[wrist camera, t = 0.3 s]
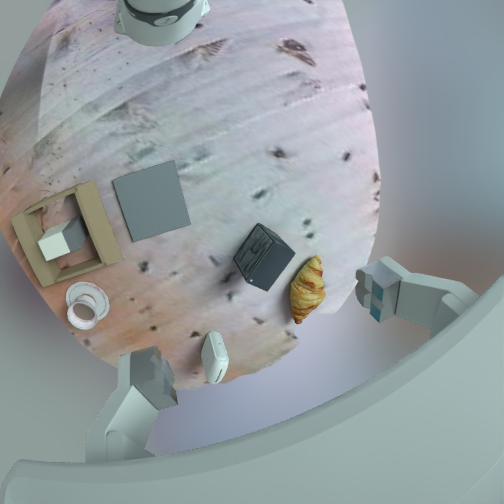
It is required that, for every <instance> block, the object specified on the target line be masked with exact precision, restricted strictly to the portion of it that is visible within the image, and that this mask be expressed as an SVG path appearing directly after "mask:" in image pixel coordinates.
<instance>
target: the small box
mask: <svg viewBox="0 0 504 504" xmlns="http://www.w3.org/2000/svg"><path fill="white" fill-rule="evenodd" d="M295 254H296V253H295V252H294V251H293V250H292V249H291V248H290V247H289V246H288V245H287V244H286V243H285V242H284V241H283V240H282V239H281V238H280V237H279V236H278V235H277V234H276V233H274V232H273V231H271V230H270V229H268V228H266V227H265V226H263V225H262V224H260V223H257V225H256V226H255V228H254V229H253V231H252V232H251V233H250V235H249V236H248V238H247V239H246V241H245V242H244V244H243V245H242V246H241V248H240V249H239V251H238V252H237V254H236V255H235V257H234V258H233V259H234V261H235V263H236V264H237V266H238V268H239V270H240V271H241V273H242V275H243V277H244V278H245V281H246V283H249V284H251V285H253V286H256V287H258V288H260V289H262V290H265V291H268V290H269V289H270V288H271V286H272V285H273V284H274V282H275V281H276V280H277V278H278V277H279V276H280V274H281V273H282V271H283V270H284V269H285V267H286V266H287V265H288V263H289V262H290V261H291V259H292V258H293V257H294V255H295Z"/></svg>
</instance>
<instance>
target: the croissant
mask: <svg viewBox="0 0 504 504" xmlns="http://www.w3.org/2000/svg"><path fill="white" fill-rule="evenodd" d="M320 264H321V259H320V257H319V256H317V255H316V256H314V257H312V259H310V261H308V262H307V263H306V264H305V265H304V266H303V268H302V269H301V270H300V271H299V272H298V274H297V276H296V277H295V279H294V281H292V282H291V292H290V301H291V309H292V317H293V319H294V321H295V323H296V324H300V323H301V322H302V320H303V319H305V318H306V317H307V315H308V314H309V313H310V312H311V311H312V310H313V309H316V308H317V306H318V305H319V304H320V303H321V302H322V301H323V300H324V298H325V295H326V292H325V291H324V282H323V279H322V272H323V270H322V268H321V265H320Z"/></svg>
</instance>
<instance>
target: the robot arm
mask: <svg viewBox="0 0 504 504" xmlns="http://www.w3.org/2000/svg"><path fill="white" fill-rule="evenodd" d="M209 11H210V6H209V4H208V2H207V0H118V4H117V10H116V16H115V23H114V31H115V32H116V33H118V34H123V35H127V36H129V37H130V38H132V39H133V40H134V41H136V42H138V43H140V44H142V45H146V46H165V45H169V44H172V43H175V42H177V41H179V40H181V39H183V38H184V37H185V36H187V35H188V34H189V33H190V32H191V31H192V30H193V28H194V27H195V25H196V24H197V22H198V21H199V19H200V18H202V17H203V16H205V15H206V14H207V13H208V12H209ZM119 22H121V24H119ZM356 279H357V280H358V283H357V285H356V287H355V289H356V296H357V299H358V301H359V302H360V304H361V305H362V306H363V307H365V308H369V309H370V314H371V315H372V316H373V317H374V318H375V319H376V320H377V321H378V322H379V323H381V322H382V321H384V320H386V319H388V318H390V317H392V316H394V315H395V316H397V317H400V318H402V319H405V320H408V321H410V322H413V323H416V324H418V325H421V326H423V327H426V328H428V329H431V333H430V336H429V340H428V341H427V342H426V343H425V344H423V345H422V346H420V347H419V348H417V349H416V350H415V351H414V352H412V353H410V354H409V355H407V356H406V357H405V358H403V359H401V360H400V361H398V362H397V363H395V364H394V365H392V366H391V367H389V368H387V369H386V370H384V371H383V372H381V373H379V374H378V375H376V376H374V377H373V378H371V379H369V380H367V381H366V382H364V383H362V384H361V385H359V386H357V387H355V388H353V389H351V390H350V391H348V392H346V393H344V394H342V395H340V396H338V397H336V398H334V399H332V400H330V401H328V402H326V403H324V404H322V405H319V406H317V407H315V408H313V409H311V410H309V411H306V412H304V413H302V414H300V415H297V416H295V417H292V418H290V419H288V420H285V421H282V422H280V423H277V424H275V425H272V426H269V427H267V428H264V429H261V430H258V431H255V432H252V433H250V434H246V435H243V436H240V437H237V438H233V439H230V440H227V441H223V442H220V443H216V444H213V445H208V446H204V447H201V448H196V449H192V450H187V451H182V452H177V453H172V454H167V455H161V456H155V455H154V454H152V453H151V452H149V451H147V450H146V449H144V448H145V445H146V443H147V440H148V437H149V435H150V432H151V430H152V427H153V424H154V422H155V419H156V417H157V414H158V410H161V409H165V408H169V407H172V406H176V405H178V401H177V395H176V390H175V389H174V388H173V387H172V385H173V383H174V382H175V381H174V375H173V372H172V369H171V367H170V365H169V363H168V361H167V360H166V359H164V358H162V357H161V351H160V350H159V349H158V347H157V346H152V347H149V348H145V349H141V350H138V351H134V352H131V353H127V354H123V355H120V357H119V363H118V380H117V389H115V390H114V391H113V392H112V394H111V395H110V397H109V398H108V400H107V401H106V403H105V405H104V406H103V408H102V409H101V411H100V412H99V414H98V416H97V417H96V419H95V421H94V422H93V424H92V425H91V427H90V429H89V430H88V432H87V433H86V463H65V462H44V461H33V460H25V459H22V460H18V461H17V462H16V463H15V464H14V466H13V467H12V468H11V469H10V471H9V473H8V474H7V476H6V477H5V479H4V480H3V482H2V485H1V489H0V504H504V273H503V275H502V276H501V277H500V278H499V279H498V280H497V281H496V282H495V283H494V284H493V285H492V286H491V287H490V288H489V289H488V290H487V291H486V292H485V293H484V294H483V295H482V296H481V297H480V296H478V295H477V294H476V293H475V292H473V291H472V290H471V289H470V288H468V287H467V286H465V285H464V284H463V283H461V282H457V281H453V280H448V279H443V278H438V277H433V276H428V275H423V274H418V273H413V274H411V273H410V272H409V271H407V270H406V269H404V268H403V267H402V266H401V265H399V264H398V263H396V262H395V261H394V260H392V259H391V258H389V257H387V256H386V257H383V258H381V259H379V260H377V261H375V262H373V263H371V264H368V265H366V266H364V267H362V268H360V269H358V270H357V271H356Z"/></svg>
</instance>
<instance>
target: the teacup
mask: <svg viewBox="0 0 504 504" xmlns="http://www.w3.org/2000/svg"><path fill="white" fill-rule="evenodd" d="M82 294H89V295H91V296H93V297H94V299H95V300H96V303H95V301H94V300H93V299H92V298H91V297H89V296H87V295H82ZM66 302H67V306H68V307H69V308H68V311H67V316H68V319H69V321H70V322H71V323H72V324H73V325H74V326H75V327H77V328H79V329H90V328H92V327H94V326H95V325H96V323H97V321H98V320H100V319H102V318H104V317H105V316H106V315H107V313H108V311H109V305H110V304H109V300H108V297H107V296H106V294H105V292H104V291H103V290H102V289H101V288H100V287H98V286H96V285H95V284H93V283H89V282H86V281H84V282H77V283H74V284H72V285H71V286H70V287H69V288H68V290H67V293H66Z"/></svg>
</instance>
